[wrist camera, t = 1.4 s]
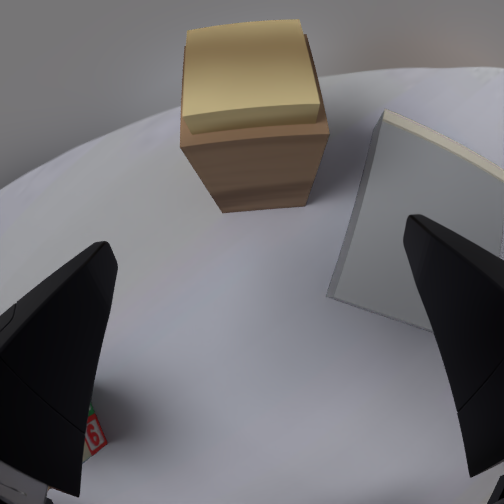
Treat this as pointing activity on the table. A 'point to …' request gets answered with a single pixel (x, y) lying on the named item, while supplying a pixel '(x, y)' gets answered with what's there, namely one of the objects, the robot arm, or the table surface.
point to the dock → (412, 202)
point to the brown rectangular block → (252, 114)
